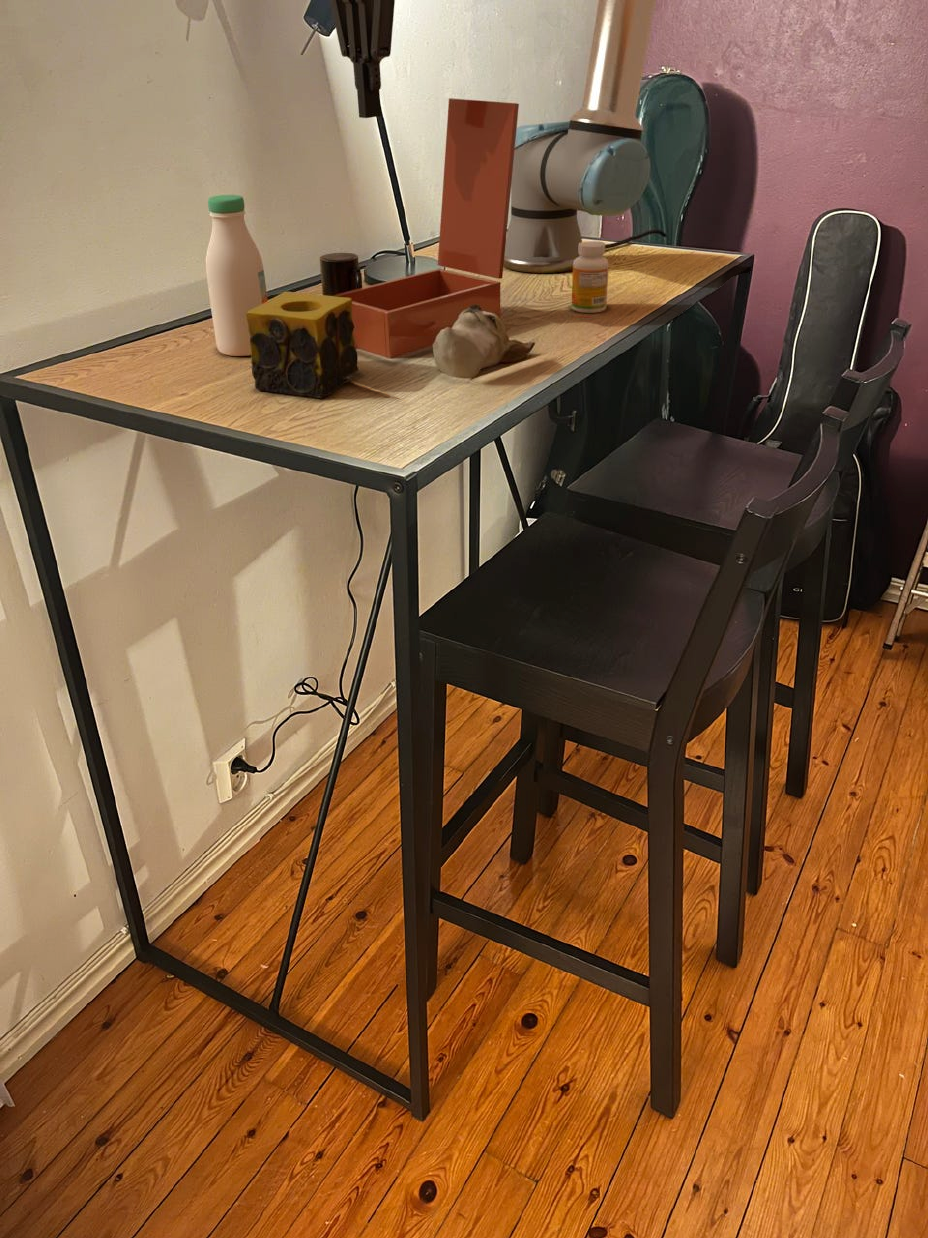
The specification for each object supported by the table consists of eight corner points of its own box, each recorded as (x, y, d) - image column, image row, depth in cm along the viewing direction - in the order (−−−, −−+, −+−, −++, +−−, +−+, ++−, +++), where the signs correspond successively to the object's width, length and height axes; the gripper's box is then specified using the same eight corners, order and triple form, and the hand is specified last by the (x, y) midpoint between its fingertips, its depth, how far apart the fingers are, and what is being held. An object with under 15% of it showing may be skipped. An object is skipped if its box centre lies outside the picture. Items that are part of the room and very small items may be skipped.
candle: (292, 366, 136) (284, 290, 130) (360, 374, 132) (355, 296, 127) (252, 391, 127) (241, 310, 122) (323, 400, 124) (316, 318, 119)
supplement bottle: (576, 303, 160) (578, 238, 155) (609, 305, 159) (613, 240, 154) (567, 311, 156) (570, 246, 151) (601, 314, 154) (605, 248, 149)
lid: (515, 103, 135) (519, 103, 135) (448, 97, 142) (452, 98, 143) (498, 278, 145) (502, 278, 145) (437, 265, 152) (441, 265, 153)
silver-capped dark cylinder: (317, 322, 153) (311, 256, 148) (346, 314, 157) (341, 250, 152) (349, 332, 149) (344, 264, 144) (378, 323, 152) (374, 257, 147)
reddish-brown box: (390, 364, 136) (387, 312, 132) (331, 345, 143) (326, 296, 140) (500, 329, 149) (500, 281, 145) (440, 313, 156) (439, 268, 153)
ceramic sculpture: (410, 308, 126) (472, 289, 137) (410, 377, 130) (470, 353, 141) (484, 321, 121) (542, 299, 132) (481, 392, 125) (538, 365, 137)
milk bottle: (261, 358, 139) (241, 202, 128) (208, 355, 140) (184, 201, 129) (281, 341, 145) (264, 192, 134) (230, 339, 146) (209, 191, 136)
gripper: (299, -90, 129) (319, 116, 141) (365, -97, 121) (380, 122, 134) (345, -90, 133) (360, 110, 146) (412, -96, 125) (422, 116, 138)
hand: (370, 116), depth 140 cm, fingers closed
